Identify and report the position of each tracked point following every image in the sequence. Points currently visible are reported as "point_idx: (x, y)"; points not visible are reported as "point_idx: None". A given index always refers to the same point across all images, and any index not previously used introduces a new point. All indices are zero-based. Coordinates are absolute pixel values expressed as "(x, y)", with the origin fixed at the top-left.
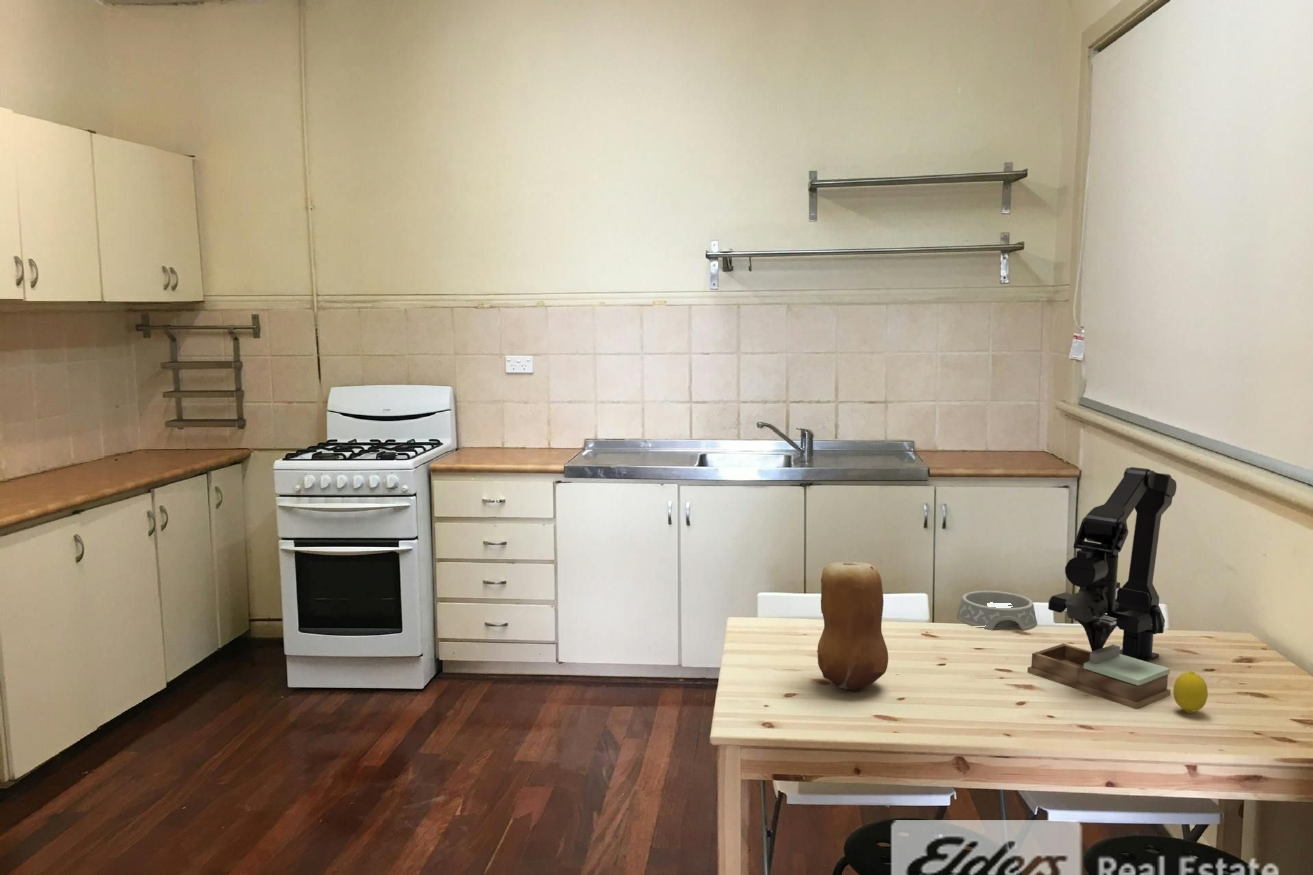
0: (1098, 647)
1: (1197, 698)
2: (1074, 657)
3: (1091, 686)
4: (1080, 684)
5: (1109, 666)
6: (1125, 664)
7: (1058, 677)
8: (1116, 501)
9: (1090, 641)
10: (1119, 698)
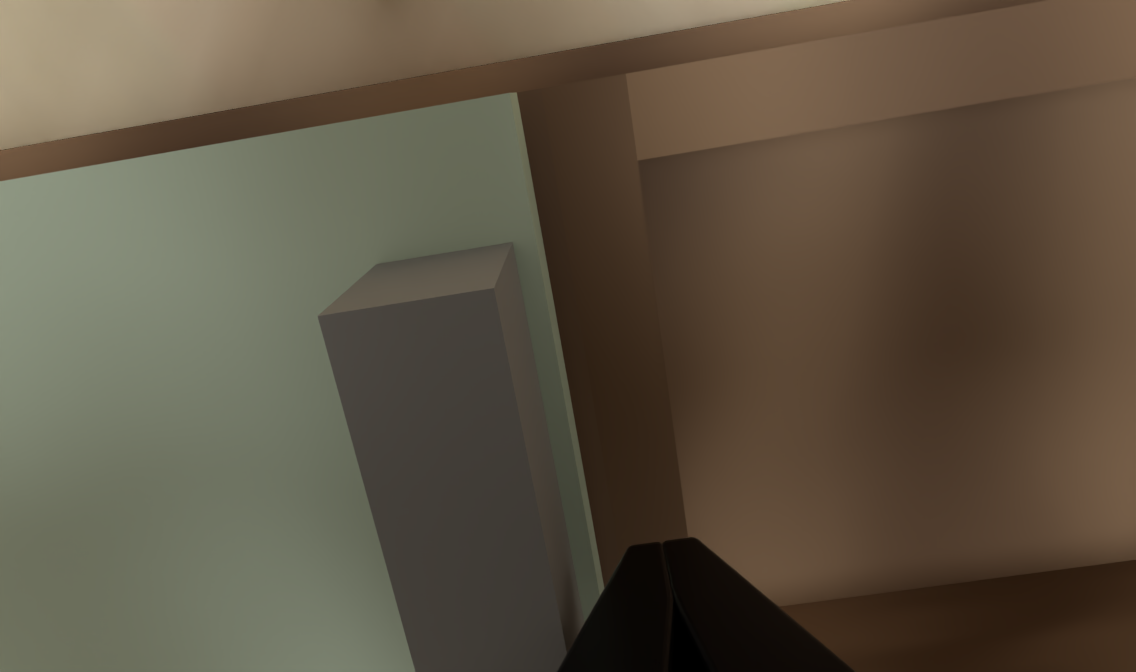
0: (583, 632)
1: None
2: (1083, 608)
3: None
4: (547, 73)
5: (221, 375)
6: (216, 646)
7: (849, 5)
8: None
9: (773, 647)
10: (45, 143)
